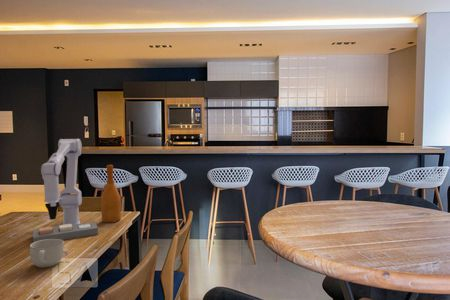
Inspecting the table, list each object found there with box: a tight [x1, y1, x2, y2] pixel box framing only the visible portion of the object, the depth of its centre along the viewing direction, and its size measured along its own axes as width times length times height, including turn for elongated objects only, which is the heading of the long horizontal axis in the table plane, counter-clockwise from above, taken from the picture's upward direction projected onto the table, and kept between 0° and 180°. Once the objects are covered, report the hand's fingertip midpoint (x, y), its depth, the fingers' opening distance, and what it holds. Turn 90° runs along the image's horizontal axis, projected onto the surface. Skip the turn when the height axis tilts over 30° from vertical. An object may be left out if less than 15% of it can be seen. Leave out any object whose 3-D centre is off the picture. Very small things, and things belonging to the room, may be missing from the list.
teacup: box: [29, 239, 65, 268], centre depth 115 cm, size 14×11×8 cm
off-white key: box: [58, 224, 72, 232], centre depth 147 cm, size 5×5×2 cm
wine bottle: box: [100, 164, 122, 223], centre depth 170 cm, size 10×10×30 cm
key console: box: [32, 221, 99, 243], centre depth 148 cm, size 12×26×3 cm, turn 121°
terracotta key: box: [38, 226, 53, 235], centre depth 143 cm, size 5×5×2 cm
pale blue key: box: [78, 224, 91, 229], centre depth 152 cm, size 5×5×2 cm
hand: (52, 219), depth 144 cm, fingers closed
